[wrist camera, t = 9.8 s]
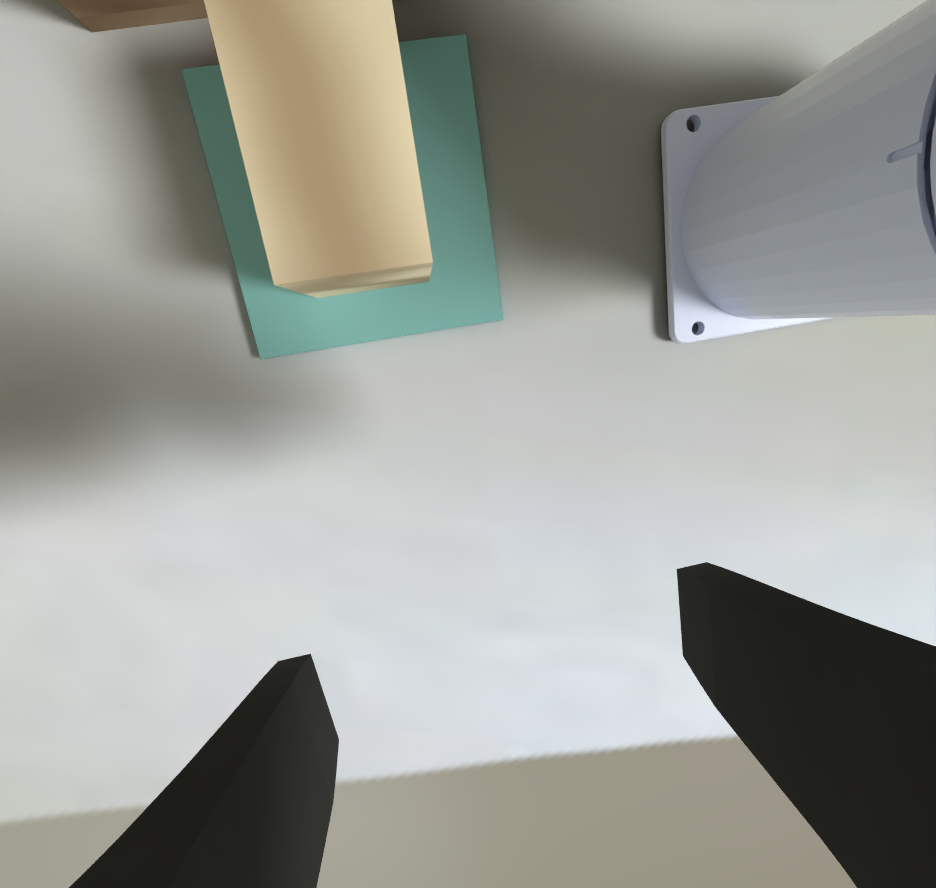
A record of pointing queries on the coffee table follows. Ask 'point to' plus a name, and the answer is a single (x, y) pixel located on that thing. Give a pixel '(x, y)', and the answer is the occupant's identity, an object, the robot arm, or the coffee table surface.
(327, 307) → the teal mat
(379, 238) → the maple block
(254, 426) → the coffee table surface
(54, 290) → the coffee table surface
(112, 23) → the slotted box
